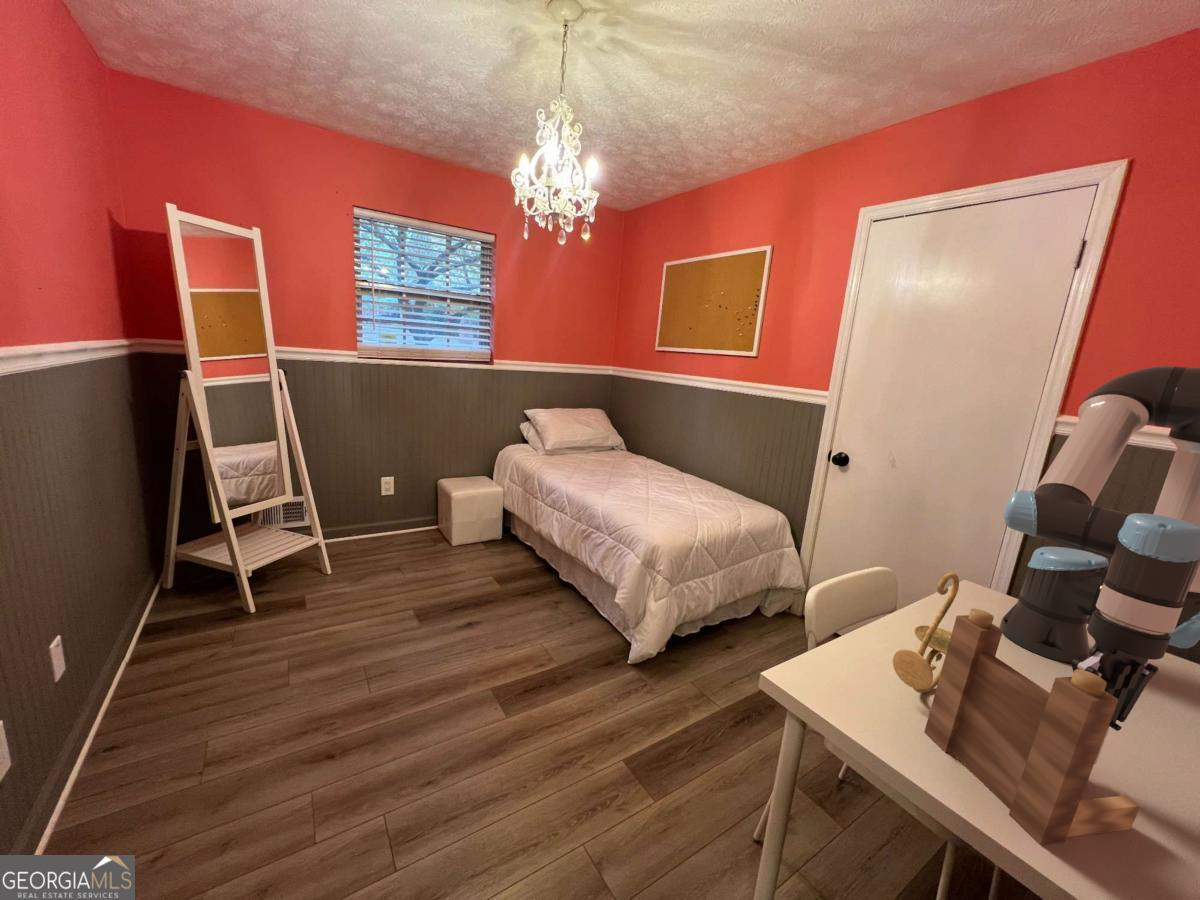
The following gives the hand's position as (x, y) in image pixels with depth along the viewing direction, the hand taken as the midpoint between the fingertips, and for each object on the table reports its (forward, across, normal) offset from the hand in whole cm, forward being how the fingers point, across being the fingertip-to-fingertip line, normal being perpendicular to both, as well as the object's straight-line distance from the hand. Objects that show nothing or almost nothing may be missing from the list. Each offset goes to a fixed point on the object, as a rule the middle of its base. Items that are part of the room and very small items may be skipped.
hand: (1081, 756), depth 70 cm
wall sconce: (+3, +10, -18) cm, 21 cm away
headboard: (+3, +11, 0) cm, 11 cm away
